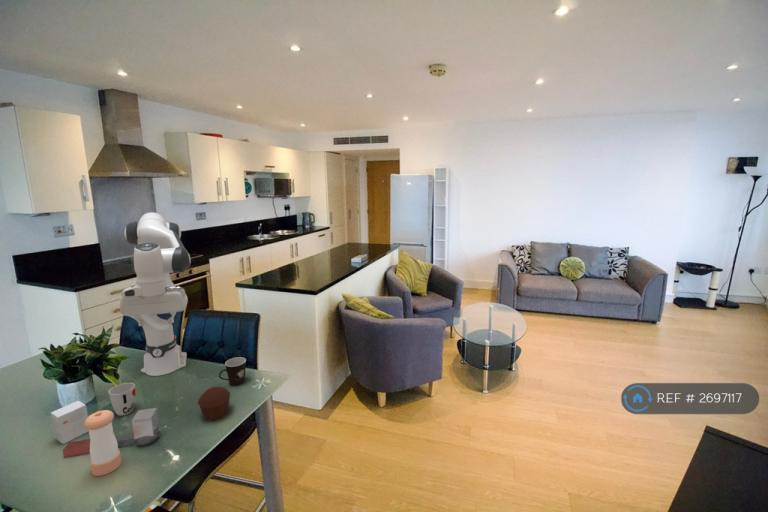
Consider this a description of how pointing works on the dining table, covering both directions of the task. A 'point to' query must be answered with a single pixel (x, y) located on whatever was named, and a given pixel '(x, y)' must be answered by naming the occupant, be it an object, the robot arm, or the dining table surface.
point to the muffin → (214, 403)
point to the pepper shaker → (102, 443)
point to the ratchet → (122, 440)
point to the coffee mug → (235, 371)
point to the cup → (123, 398)
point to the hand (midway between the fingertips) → (156, 324)
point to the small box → (69, 421)
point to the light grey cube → (145, 423)
